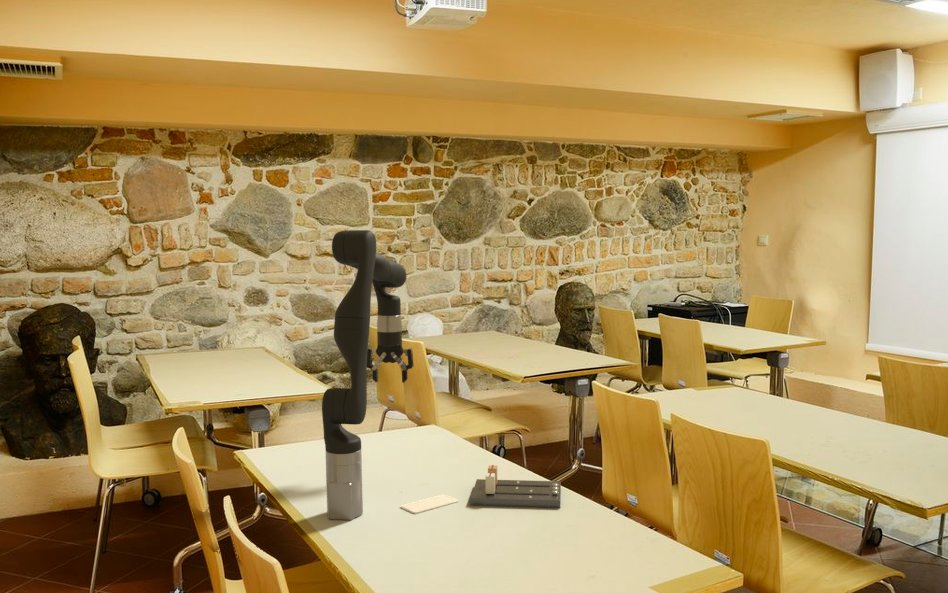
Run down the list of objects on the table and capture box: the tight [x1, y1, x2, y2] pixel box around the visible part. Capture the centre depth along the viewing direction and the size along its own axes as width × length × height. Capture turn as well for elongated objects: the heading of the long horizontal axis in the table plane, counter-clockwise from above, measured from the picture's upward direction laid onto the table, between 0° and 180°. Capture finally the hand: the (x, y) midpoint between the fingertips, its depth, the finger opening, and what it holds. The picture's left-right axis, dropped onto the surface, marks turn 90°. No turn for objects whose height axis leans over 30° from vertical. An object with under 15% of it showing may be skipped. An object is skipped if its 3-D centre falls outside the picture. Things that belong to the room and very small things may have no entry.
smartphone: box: [400, 493, 460, 515], centre depth 217 cm, size 7×1×15 cm
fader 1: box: [487, 464, 498, 486], centre depth 227 cm, size 3×2×5 cm
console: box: [469, 478, 562, 509], centre depth 223 cm, size 16×24×3 cm, turn 84°
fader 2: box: [485, 472, 495, 494], centre depth 220 cm, size 3×2×5 cm
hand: (390, 382), depth 248 cm, fingers open, 8 cm apart
